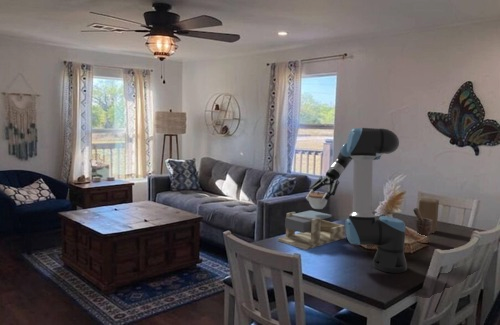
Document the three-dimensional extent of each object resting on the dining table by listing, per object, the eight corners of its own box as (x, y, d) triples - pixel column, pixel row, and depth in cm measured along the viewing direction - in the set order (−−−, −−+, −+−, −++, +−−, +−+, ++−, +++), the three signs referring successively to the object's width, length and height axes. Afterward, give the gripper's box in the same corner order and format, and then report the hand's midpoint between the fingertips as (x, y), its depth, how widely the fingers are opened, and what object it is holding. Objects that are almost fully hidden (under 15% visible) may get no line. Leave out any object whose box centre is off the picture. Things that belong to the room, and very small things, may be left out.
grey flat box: (305, 233, 215) (305, 220, 215) (283, 227, 227) (283, 215, 226) (331, 226, 231) (332, 214, 231) (310, 221, 243) (310, 209, 242)
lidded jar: (312, 205, 238) (312, 189, 237) (330, 207, 233) (330, 191, 232) (305, 208, 229) (305, 192, 228) (323, 211, 224) (323, 194, 223)
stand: (305, 249, 214) (307, 221, 212) (278, 240, 228) (278, 214, 227) (344, 238, 237) (345, 212, 236) (316, 230, 252) (317, 206, 250)
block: (416, 231, 256) (418, 199, 254) (420, 228, 265) (422, 197, 263) (433, 234, 251) (436, 202, 249) (436, 230, 259) (439, 199, 257)
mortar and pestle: (423, 246, 225) (426, 210, 223) (409, 242, 232) (411, 207, 230) (433, 242, 233) (436, 208, 231) (418, 238, 239) (421, 205, 237)
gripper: (353, 179, 229) (332, 209, 221) (323, 173, 247) (303, 201, 240) (347, 170, 225) (326, 200, 218) (317, 165, 244) (296, 193, 237)
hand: (314, 201), depth 229 cm, fingers closed on lidded jar, 11 cm apart
